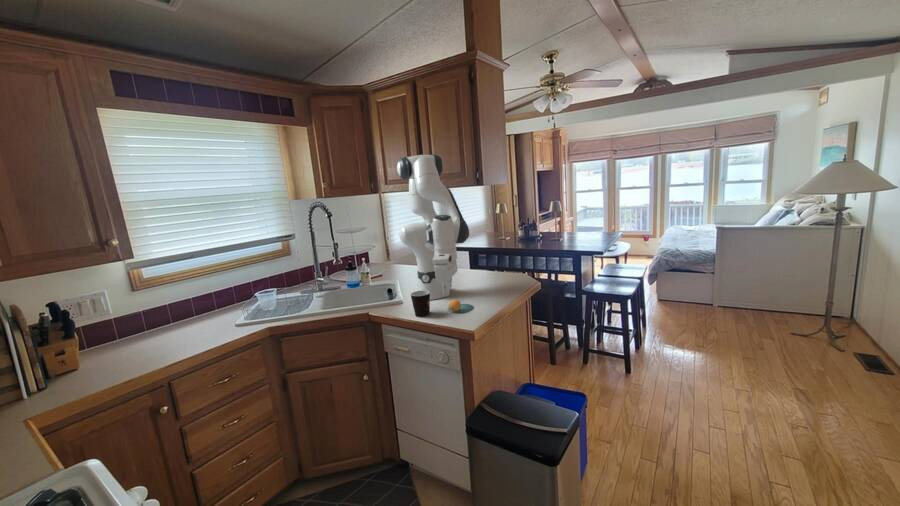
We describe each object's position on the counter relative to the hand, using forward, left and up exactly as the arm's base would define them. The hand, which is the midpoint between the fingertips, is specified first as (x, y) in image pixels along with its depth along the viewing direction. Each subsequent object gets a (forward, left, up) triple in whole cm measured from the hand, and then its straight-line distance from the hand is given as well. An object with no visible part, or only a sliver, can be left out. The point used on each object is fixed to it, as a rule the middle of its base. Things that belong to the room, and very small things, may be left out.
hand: (448, 288), depth 150 cm
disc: (-16, 0, -14) cm, 21 cm away
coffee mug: (-9, -15, -14) cm, 23 cm away
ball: (-12, -1, -11) cm, 16 cm away
